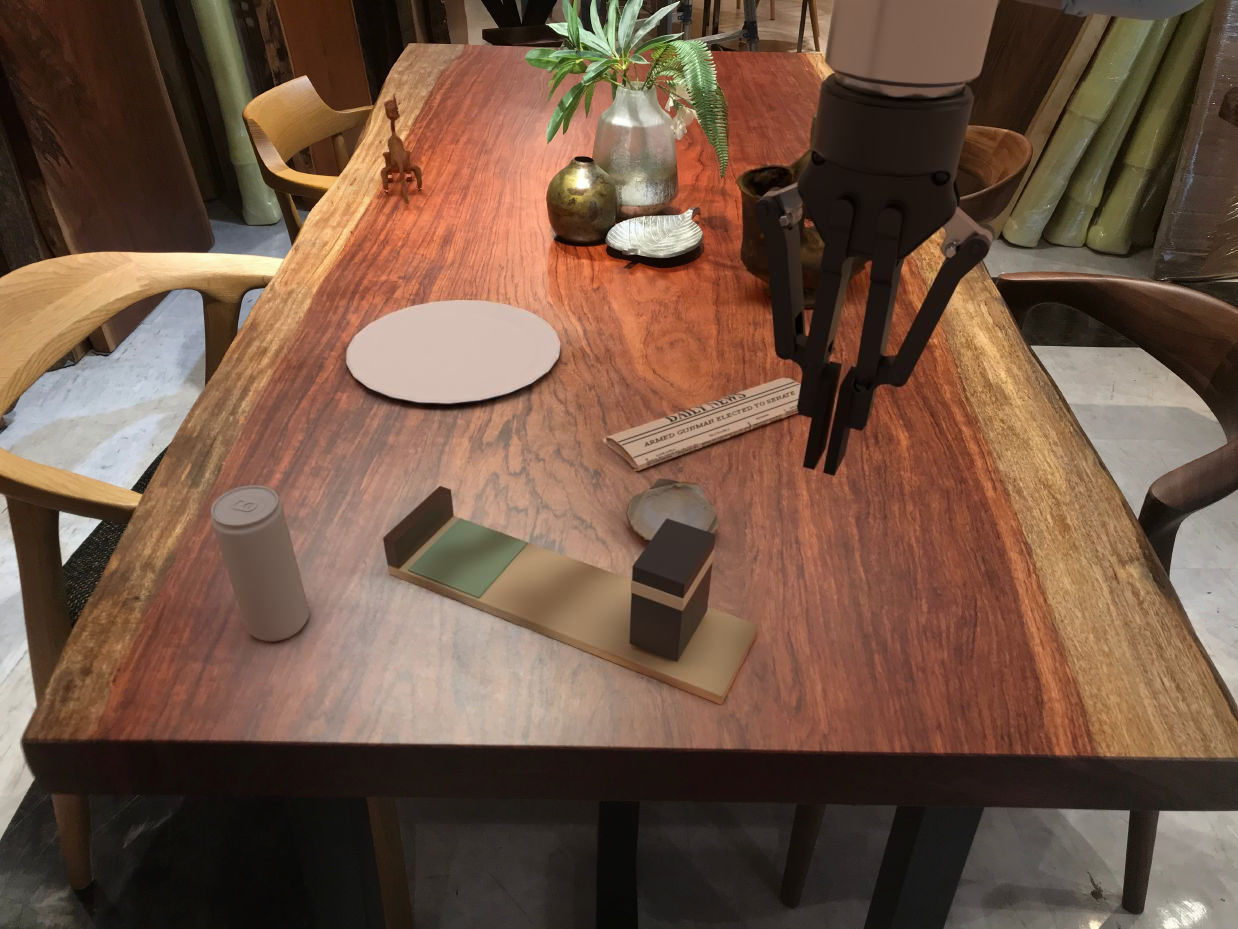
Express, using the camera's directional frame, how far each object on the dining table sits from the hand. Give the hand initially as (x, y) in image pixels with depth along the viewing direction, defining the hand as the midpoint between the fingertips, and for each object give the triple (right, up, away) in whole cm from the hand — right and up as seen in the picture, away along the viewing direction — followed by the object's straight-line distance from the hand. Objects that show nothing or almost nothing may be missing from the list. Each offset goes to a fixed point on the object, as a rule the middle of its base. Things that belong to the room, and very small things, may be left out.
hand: (824, 460), depth 58 cm
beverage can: (-40, -13, +12) cm, 44 cm away
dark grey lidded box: (-10, -13, +11) cm, 19 cm away
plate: (-33, +13, +48) cm, 59 cm away
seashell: (-9, -6, +23) cm, 25 cm away
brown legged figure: (-50, +45, +92) cm, 114 cm away
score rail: (-18, -12, +15) cm, 26 cm away
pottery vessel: (+12, +23, +64) cm, 69 cm away
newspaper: (-4, +4, +37) cm, 37 cm away
